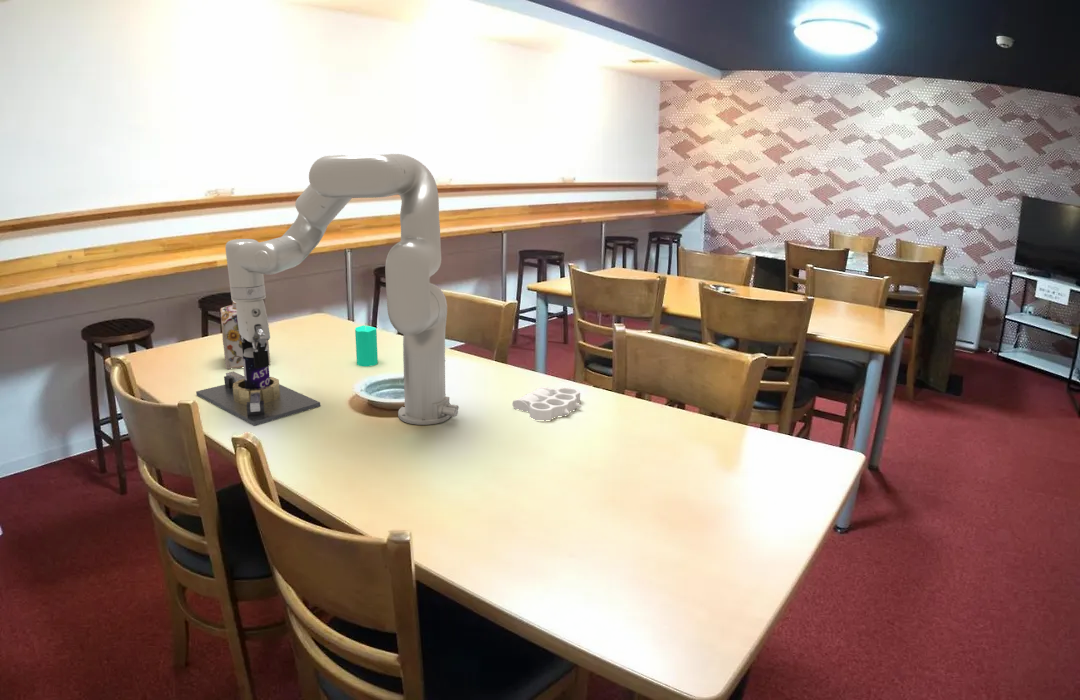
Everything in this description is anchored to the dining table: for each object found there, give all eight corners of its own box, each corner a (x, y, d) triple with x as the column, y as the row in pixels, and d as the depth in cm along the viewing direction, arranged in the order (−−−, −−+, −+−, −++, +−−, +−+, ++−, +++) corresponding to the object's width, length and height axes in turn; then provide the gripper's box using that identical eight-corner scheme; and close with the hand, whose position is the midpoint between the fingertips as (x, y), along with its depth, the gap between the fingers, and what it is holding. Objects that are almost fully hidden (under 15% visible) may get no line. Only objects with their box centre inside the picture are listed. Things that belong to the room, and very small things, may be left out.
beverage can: (253, 402, 168) (249, 354, 164) (241, 396, 171) (237, 349, 168) (275, 396, 172) (272, 350, 169) (263, 391, 175) (259, 345, 172)
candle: (354, 361, 204) (352, 321, 200) (375, 359, 206) (373, 319, 203) (358, 367, 199) (356, 326, 195) (380, 365, 201) (378, 324, 198)
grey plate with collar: (320, 406, 170) (319, 388, 168) (254, 425, 157) (252, 407, 156) (260, 379, 187) (259, 363, 185) (196, 395, 174) (194, 378, 173)
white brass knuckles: (543, 393, 184) (593, 405, 177) (504, 414, 169) (556, 428, 162) (544, 381, 183) (593, 392, 176) (504, 401, 168) (557, 414, 161)
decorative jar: (224, 358, 203) (218, 297, 198) (267, 354, 208) (262, 295, 203) (225, 370, 193) (219, 306, 188) (270, 366, 198) (265, 303, 193)
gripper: (275, 297, 160) (283, 368, 165) (254, 284, 173) (261, 351, 178) (241, 301, 155) (250, 374, 160) (222, 288, 169) (230, 356, 173)
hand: (256, 362), depth 169 cm, fingers open, 9 cm apart
